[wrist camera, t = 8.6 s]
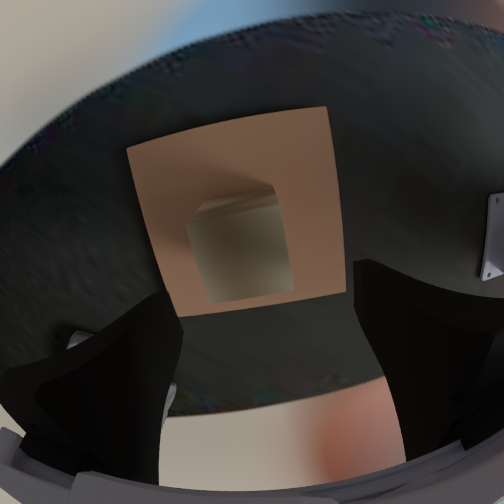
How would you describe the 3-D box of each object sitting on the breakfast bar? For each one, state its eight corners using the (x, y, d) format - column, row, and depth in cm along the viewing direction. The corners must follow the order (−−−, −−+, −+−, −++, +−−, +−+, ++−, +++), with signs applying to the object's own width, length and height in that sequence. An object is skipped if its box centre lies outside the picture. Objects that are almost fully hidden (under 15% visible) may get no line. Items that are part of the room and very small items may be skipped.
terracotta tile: (318, 109, 16) (326, 106, 14) (338, 278, 20) (345, 291, 19) (138, 147, 17) (126, 148, 15) (182, 302, 21) (176, 317, 20)
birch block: (272, 185, 16) (279, 204, 11) (285, 249, 17) (294, 290, 13) (205, 199, 16) (185, 224, 12) (222, 261, 18) (209, 304, 13)
